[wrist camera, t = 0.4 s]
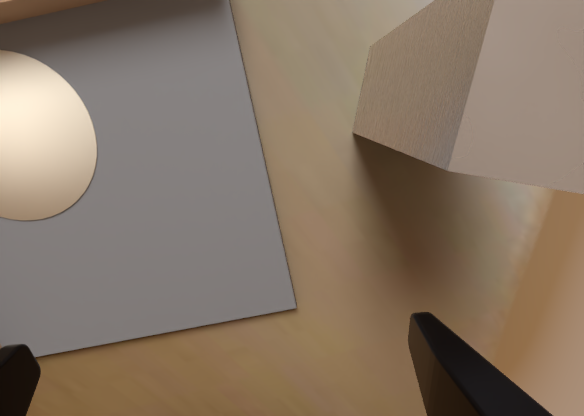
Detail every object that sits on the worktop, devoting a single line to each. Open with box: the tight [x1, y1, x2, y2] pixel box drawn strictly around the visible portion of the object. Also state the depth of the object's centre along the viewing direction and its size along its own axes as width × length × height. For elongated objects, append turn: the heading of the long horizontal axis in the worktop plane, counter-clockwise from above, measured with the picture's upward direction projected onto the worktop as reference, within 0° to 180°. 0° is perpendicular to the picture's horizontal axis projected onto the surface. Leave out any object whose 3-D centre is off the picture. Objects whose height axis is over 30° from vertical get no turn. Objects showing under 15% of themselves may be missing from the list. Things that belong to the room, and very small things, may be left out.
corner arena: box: [0, 0, 297, 357], centre depth 20 cm, size 20×20×3 cm
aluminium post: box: [353, 0, 584, 194], centre depth 14 cm, size 4×4×13 cm
